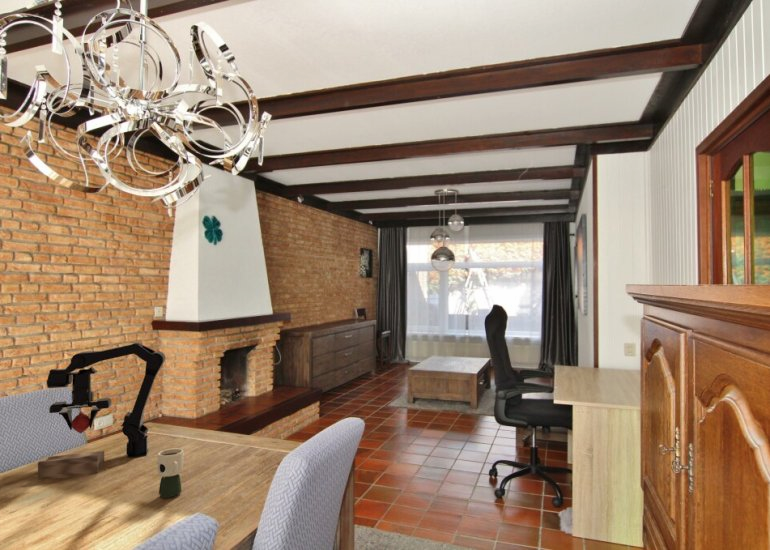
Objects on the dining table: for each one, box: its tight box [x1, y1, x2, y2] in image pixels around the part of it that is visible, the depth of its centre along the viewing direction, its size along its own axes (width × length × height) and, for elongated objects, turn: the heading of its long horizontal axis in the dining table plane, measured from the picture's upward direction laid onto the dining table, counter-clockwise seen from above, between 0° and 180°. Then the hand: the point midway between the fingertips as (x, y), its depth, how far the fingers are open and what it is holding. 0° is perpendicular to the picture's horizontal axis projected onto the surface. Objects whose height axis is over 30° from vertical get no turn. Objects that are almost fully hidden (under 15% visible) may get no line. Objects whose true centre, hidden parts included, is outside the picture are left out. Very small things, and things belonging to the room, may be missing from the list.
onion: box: [72, 410, 90, 434], centre depth 173 cm, size 6×6×8 cm
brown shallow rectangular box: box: [37, 450, 105, 481], centre depth 162 cm, size 17×12×6 cm
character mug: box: [156, 447, 184, 499], centre depth 142 cm, size 11×7×13 cm, turn 41°
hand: (81, 428), depth 173 cm, fingers closed on onion, 6 cm apart
